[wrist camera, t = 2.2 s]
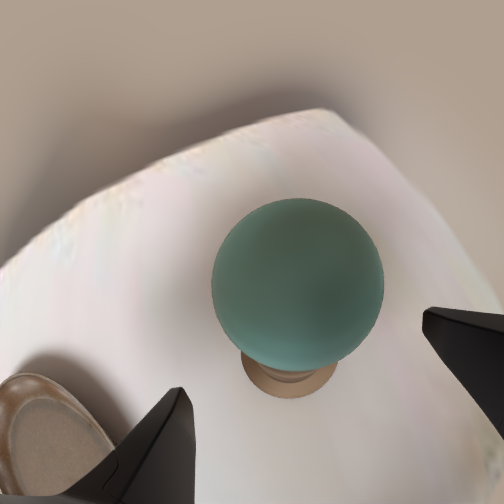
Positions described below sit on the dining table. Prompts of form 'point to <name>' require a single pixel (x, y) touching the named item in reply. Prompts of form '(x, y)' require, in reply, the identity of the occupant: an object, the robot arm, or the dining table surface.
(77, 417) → the plant saucer
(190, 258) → the dining table surface
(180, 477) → the robot arm
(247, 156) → the dining table surface
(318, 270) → the bead column
